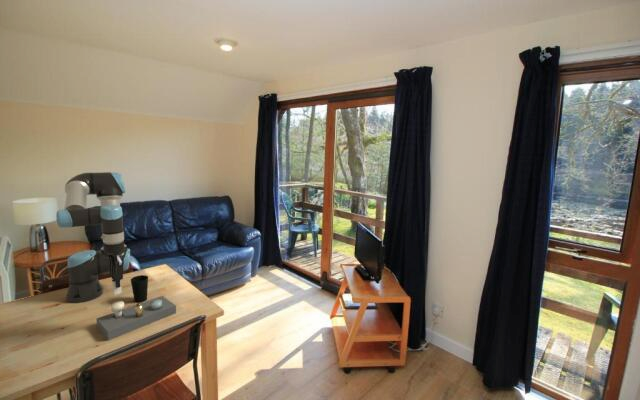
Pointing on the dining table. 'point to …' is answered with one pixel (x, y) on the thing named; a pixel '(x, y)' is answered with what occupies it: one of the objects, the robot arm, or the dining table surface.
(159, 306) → the knob
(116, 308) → the knob
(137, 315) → the trim post
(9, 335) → the dining table surface
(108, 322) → the panel
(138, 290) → the cup
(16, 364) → the dining table surface
